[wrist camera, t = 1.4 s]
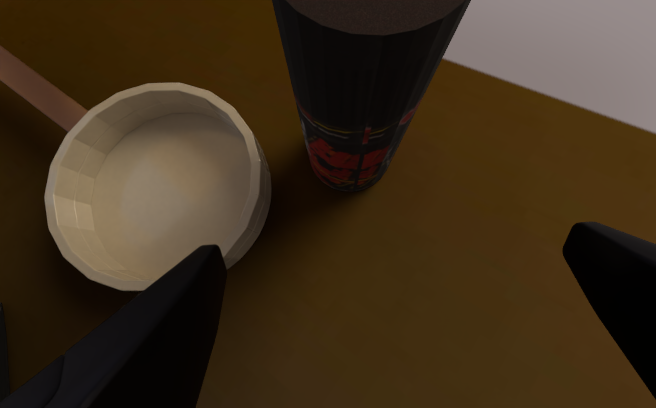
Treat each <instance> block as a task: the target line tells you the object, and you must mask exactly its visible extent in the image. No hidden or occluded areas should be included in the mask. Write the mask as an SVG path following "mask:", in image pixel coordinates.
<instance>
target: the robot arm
mask: <svg viewBox="0 0 656 408" xmlns="http://www.w3.org/2000/svg"><path fill="white" fill-rule="evenodd" d="M563 256H564V258H565V260H566V262H567V264H568V265H569V267H570V269H571V271H572V273H573V274H574V276H575V278H576V280H577V281H578V283H579V285H580V287H581V289H582V290H583V292H584V294H585V296H586V297H587V299H588V301H589V303H590V304H591V306H592V308H593V309H594V311H595V313H596V314H597V316H598V317H599V319H600V320H601V322H602V323H603V324H604V326H605V327H606V329H607V330H608V332H609V333H610V335H611V336H612V337H613V339H614V340H615V342H616V343H617V345H618V346H619V347H620V349H621V350H622V352H623V353H624V355H625V356H626V357H627V359H628V360H629V362H630V363H631V365H632V366H633V368H634V369H635V370H636V372H637V373H638V375H639V376H640V378H641V379H642V380H643V382H644V383H645V385H646V386H647V388H648V389H649V391H650V392H651V393H652V395H653V396H654V398H655V399H656V244H654V243H651V242H648V241H645V240H643V239H640V238H637V237H635V236H632V235H629V234H627V233H624V232H621V231H619V230H616V229H613V228H611V227H608V226H605V225H603V224H600V223H597V222H579V223H576V224H575V225H574V226H573V227H572V228H571V231H570V233H569V235H568V237H567V239H566V242H565V244H564V246H563ZM226 278H227V269H226V265H225V262H224V259H223V256H222V253H221V249H220V247H219V246H218V245H216V244H210V245H201V246H200V247H198V248H197V249H196V250H194V251H193V252H192V253H191V254H189V255H188V256H187V257H185V258H184V259H183V260H182V261H180V262H179V263H178V264H177V265H175V266H174V267H173V268H172V269H170V270H169V271H168V272H166V273H165V274H164V275H163V276H161V277H160V278H159V279H158V280H156V281H155V282H154V283H152V284H151V285H150V286H149V287H147V288H146V289H145V290H144V291H142V292H141V293H140V294H138V295H137V296H136V297H135V298H133V299H132V300H131V301H130V302H128V303H127V304H126V305H125V306H123V307H122V308H121V309H119V310H118V311H117V312H116V313H114V314H113V315H112V316H111V317H109V318H108V319H107V320H105V321H104V322H103V323H102V324H100V325H99V326H98V327H97V328H95V329H94V330H93V331H91V332H90V333H89V334H88V335H86V336H85V337H84V338H83V339H81V340H80V341H79V342H78V343H76V344H75V345H74V346H72V347H71V348H70V349H69V350H67V351H66V353H65V355H61V356H60V357H58V358H57V359H56V360H55V361H53V362H52V363H51V364H49V365H48V366H47V367H46V368H44V369H43V370H42V371H41V372H39V373H38V374H37V375H35V376H34V377H33V378H31V379H30V380H29V381H27V382H26V383H25V384H24V385H22V386H21V387H20V388H18V389H17V390H16V391H14V392H13V393H12V394H10V395H9V396H8V397H7V398H5V399H4V400H2V401H1V402H0V408H196V404H197V401H198V397H199V394H200V390H201V387H202V383H203V380H204V377H205V373H206V370H207V366H208V363H209V359H210V356H211V352H212V349H213V345H214V342H215V338H216V334H217V330H218V325H219V319H220V313H221V307H222V302H223V296H224V290H225V284H226Z"/></svg>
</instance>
